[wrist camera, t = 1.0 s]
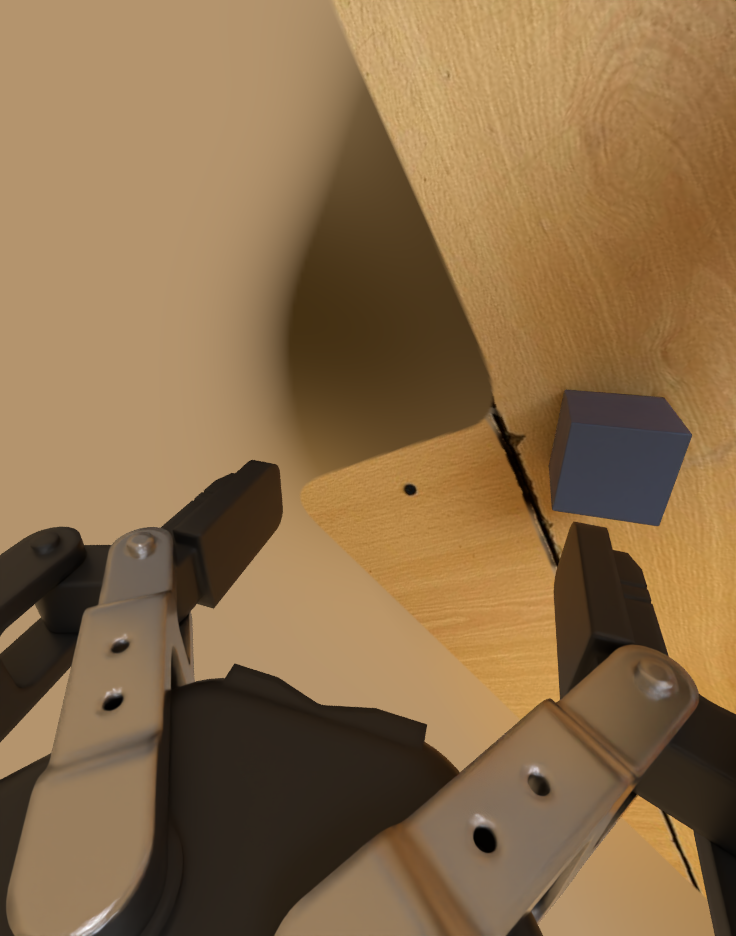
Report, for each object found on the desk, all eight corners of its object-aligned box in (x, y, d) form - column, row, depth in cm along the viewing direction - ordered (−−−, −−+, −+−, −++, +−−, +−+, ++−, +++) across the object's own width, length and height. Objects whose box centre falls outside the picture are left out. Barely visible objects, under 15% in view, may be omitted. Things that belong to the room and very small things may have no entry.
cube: (564, 389, 25) (571, 422, 21) (665, 397, 24) (693, 434, 20) (548, 467, 28) (551, 511, 24) (639, 478, 26) (659, 527, 22)
